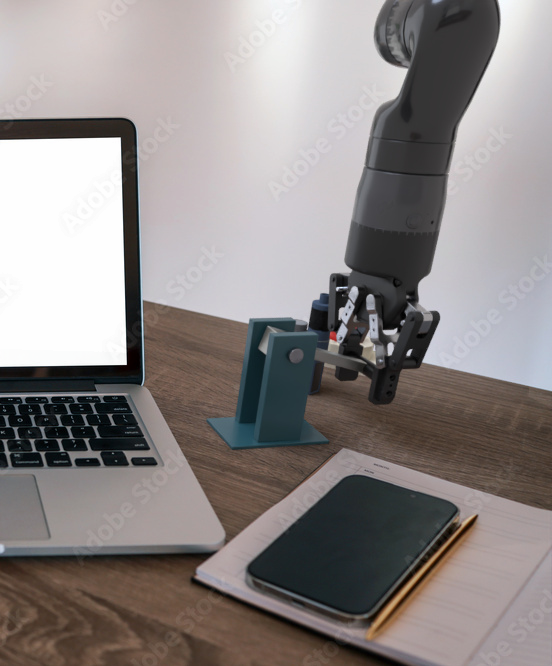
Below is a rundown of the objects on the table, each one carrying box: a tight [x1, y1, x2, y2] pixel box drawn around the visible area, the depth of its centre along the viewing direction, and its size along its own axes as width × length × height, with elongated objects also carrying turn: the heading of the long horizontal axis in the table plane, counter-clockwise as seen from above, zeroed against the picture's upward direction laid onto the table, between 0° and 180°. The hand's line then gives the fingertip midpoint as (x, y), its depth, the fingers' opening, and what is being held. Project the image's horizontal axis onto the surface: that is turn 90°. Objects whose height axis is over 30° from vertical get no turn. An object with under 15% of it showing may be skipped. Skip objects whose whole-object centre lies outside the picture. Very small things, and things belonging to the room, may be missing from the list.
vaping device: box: [293, 292, 330, 396], centre depth 85 cm, size 3×5×12 cm, turn 40°
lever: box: [258, 326, 376, 380], centre depth 74 cm, size 12×5×2 cm, turn 102°
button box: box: [324, 336, 391, 378], centre depth 94 cm, size 10×6×4 cm, turn 58°
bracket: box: [205, 316, 330, 451], centre depth 74 cm, size 10×6×12 cm, turn 103°
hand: (361, 390), depth 76 cm, fingers closed on lever, 5 cm apart
